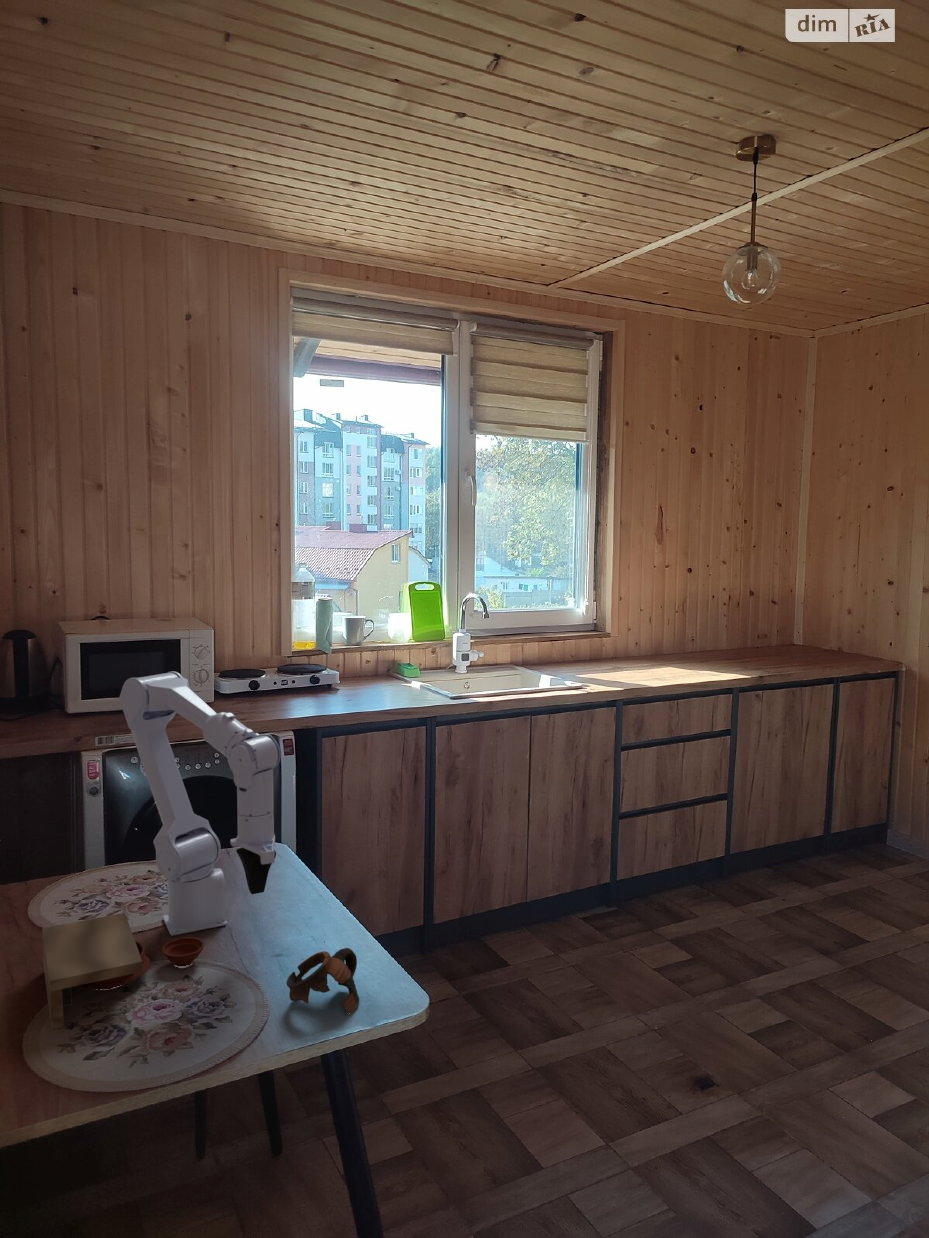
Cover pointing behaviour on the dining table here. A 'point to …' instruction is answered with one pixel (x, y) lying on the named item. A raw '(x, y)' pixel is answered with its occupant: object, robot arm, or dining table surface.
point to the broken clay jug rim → (319, 977)
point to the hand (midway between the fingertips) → (256, 891)
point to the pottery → (174, 950)
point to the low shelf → (86, 957)
